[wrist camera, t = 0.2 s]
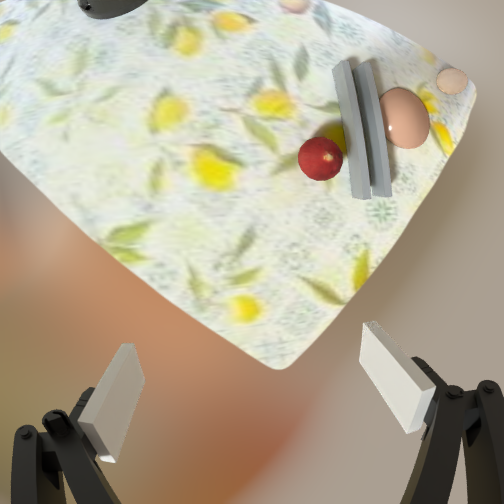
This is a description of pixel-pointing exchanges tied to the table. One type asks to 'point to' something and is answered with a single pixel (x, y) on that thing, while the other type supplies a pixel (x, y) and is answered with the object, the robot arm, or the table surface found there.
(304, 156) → the onion
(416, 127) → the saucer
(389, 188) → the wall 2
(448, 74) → the egg
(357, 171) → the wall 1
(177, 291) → the table surface
